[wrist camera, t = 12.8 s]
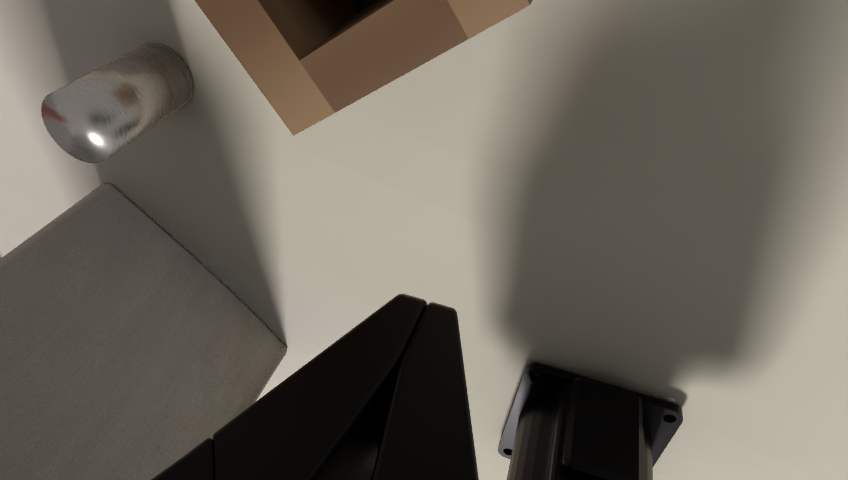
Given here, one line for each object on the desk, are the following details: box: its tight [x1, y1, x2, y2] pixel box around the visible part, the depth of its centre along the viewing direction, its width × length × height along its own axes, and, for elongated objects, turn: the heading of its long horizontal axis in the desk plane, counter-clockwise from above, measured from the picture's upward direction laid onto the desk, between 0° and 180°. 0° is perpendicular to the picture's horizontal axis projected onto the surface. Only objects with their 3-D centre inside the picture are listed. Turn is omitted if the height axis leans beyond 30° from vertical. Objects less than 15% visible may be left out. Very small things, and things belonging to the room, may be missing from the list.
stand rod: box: [41, 43, 194, 163], centre depth 21 cm, size 2×2×4 cm
